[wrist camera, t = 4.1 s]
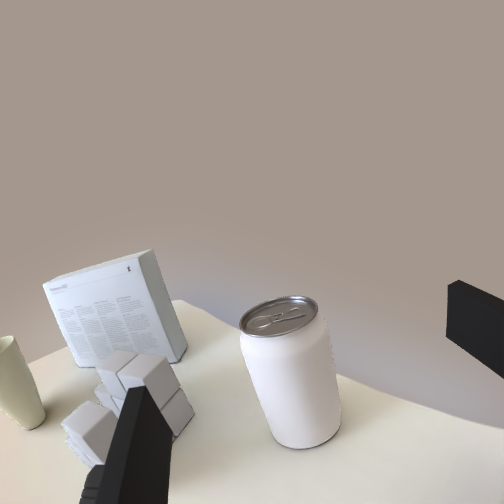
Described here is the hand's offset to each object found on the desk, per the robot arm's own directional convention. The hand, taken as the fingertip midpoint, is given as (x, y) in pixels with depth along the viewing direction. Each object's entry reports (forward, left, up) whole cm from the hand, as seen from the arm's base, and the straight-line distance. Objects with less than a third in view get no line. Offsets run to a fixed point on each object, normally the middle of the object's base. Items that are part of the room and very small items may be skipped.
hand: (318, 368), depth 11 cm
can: (+7, -6, -14) cm, 17 cm away
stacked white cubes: (+22, +6, -14) cm, 27 cm away
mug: (+38, +17, -14) cm, 44 cm away
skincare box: (+39, -3, -14) cm, 42 cm away
